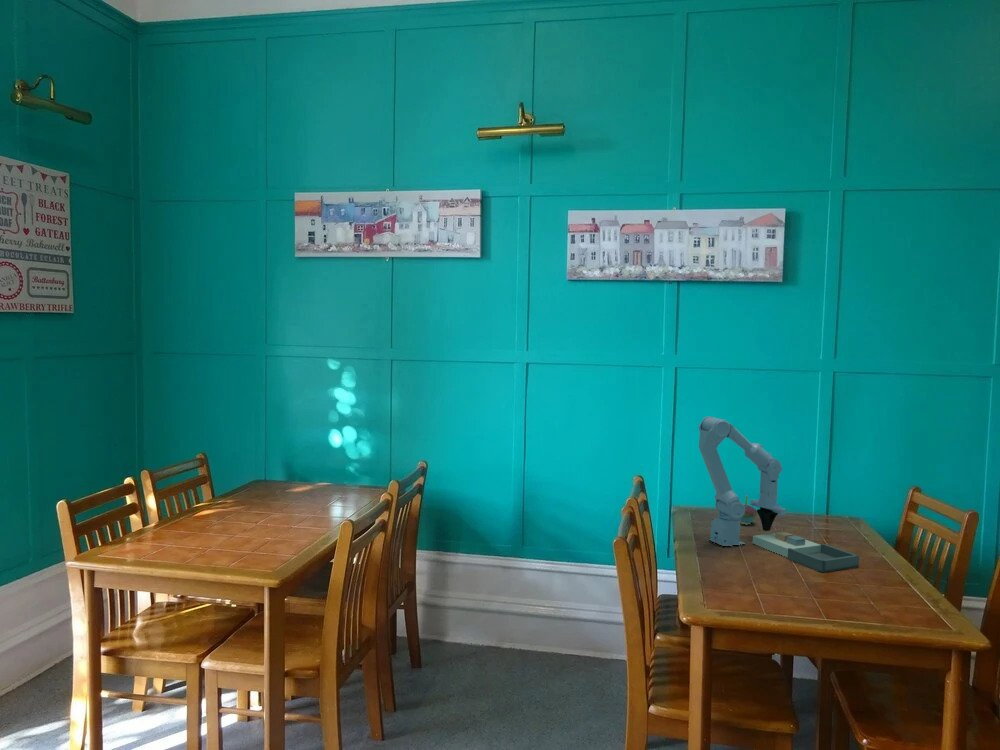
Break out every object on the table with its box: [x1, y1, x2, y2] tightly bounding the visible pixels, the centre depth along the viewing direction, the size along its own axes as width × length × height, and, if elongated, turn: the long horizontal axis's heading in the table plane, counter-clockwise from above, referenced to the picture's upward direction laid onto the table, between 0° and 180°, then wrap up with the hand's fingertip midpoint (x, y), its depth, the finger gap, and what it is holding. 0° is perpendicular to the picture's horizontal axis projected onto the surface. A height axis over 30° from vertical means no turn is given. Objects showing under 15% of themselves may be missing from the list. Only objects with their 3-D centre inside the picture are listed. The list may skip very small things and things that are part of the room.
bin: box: [787, 543, 860, 573], centre depth 224 cm, size 16×14×4 cm
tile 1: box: [774, 531, 794, 542], centre depth 239 cm, size 4×4×2 cm
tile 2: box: [787, 535, 806, 546], centre depth 234 cm, size 4×4×2 cm
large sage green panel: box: [752, 532, 821, 559], centre depth 238 cm, size 14×16×3 cm
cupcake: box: [741, 494, 758, 523], centre depth 269 cm, size 9×8×12 cm
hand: (766, 530), depth 246 cm, fingers closed
